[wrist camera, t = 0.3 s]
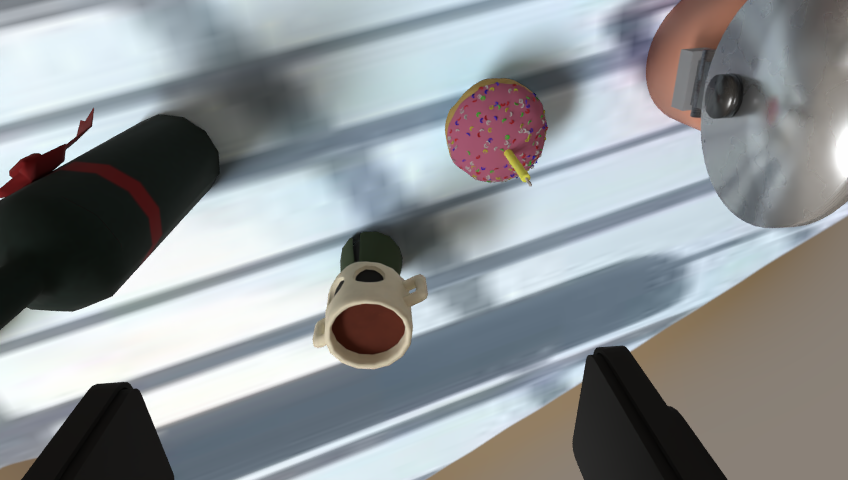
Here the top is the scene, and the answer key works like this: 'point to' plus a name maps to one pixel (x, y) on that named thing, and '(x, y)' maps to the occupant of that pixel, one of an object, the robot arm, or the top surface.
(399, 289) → the character mug
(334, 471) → the top surface
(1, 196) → the wine bottle
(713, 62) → the lid
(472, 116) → the cupcake
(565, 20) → the top surface
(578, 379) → the top surface
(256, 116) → the top surface
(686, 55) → the pot
